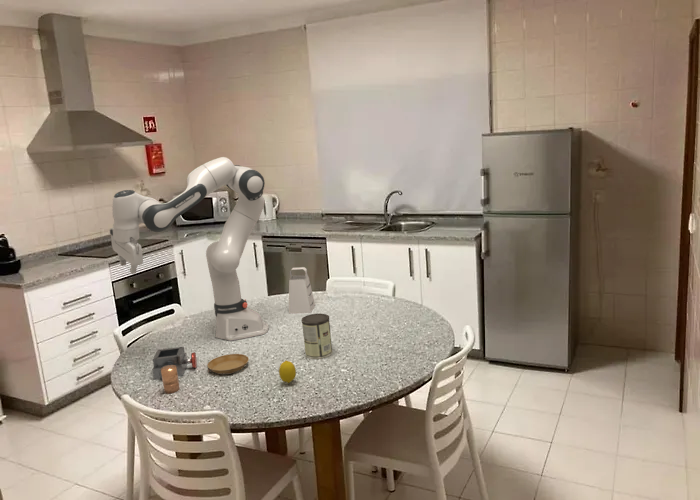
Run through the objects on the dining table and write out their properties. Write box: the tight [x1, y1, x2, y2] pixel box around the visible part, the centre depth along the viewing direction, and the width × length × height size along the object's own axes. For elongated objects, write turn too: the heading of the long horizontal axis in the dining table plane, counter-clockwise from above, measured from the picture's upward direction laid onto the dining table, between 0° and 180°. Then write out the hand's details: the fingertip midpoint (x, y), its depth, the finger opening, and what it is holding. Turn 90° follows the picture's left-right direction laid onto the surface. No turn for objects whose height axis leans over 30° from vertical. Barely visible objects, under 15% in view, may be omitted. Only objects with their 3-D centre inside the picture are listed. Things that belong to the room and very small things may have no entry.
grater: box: [288, 266, 316, 315], centre depth 263 cm, size 10×10×20 cm
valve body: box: [152, 346, 198, 380], centre depth 206 cm, size 16×14×7 cm
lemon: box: [278, 360, 297, 384], centre depth 187 cm, size 6×6×8 cm
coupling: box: [161, 365, 181, 395], centre depth 189 cm, size 5×5×8 cm
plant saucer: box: [206, 353, 250, 375], centre depth 205 cm, size 15×15×3 cm
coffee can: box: [301, 313, 333, 360], centre depth 209 cm, size 10×10×14 cm
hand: (128, 269), depth 213 cm, fingers open, 8 cm apart
